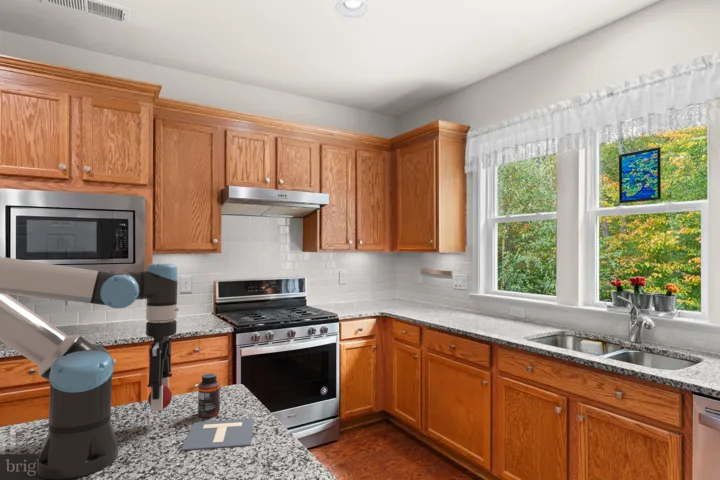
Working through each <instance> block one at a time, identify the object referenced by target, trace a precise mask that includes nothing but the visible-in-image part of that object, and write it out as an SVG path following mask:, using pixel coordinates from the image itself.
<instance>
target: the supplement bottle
mask: <svg viewBox="0 0 720 480" xmlns="http://www.w3.org/2000/svg"><path fill="white" fill-rule="evenodd" d="M197 387H198V388H197V390H198V391H197V393H198V395H197V402H198V403H197V415H198V416H199V417H200V418H212V417H213V418H214V417H216V416H217V415H219V414H220V410H221V409H220V408H221V407H220V405H221V399H220V398H221V396H220V395H221V390H220V389H221V384H220V382H219V381H218V380H217V374H216V373H211V372H210V373H205V374H202V375H201V382H200V383H199V384H198V386H197Z"/></svg>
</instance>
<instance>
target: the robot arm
mask: <svg viewBox="0 0 720 480" xmlns="http://www.w3.org/2000/svg"><path fill="white" fill-rule="evenodd" d="M178 283H179V280H178V266H176V264H174V263H149V264H148V265H147V268H146V270H142V271H111V270H108V271H101V270H94V269H88V268H87V269H86V268H80V267H75V266H66V265H61V264H60V265H59V264H54V263H53V264H52V263H46V262H45V263H44V262H39V261H33V260H32V261H31V260H24V259H19V258H18V259H17V258H11V257H6V256H0V342H1V343H3V344H4V345H6V346H7V347H10V349H12V350H13V351H16V352H17V353H18V354H20V355H21V356H23V357H25V358H26V359H27V360H29V361H31V362H33V363H34V364H35V365H36V366H37V367H38V376H40V377H41V378H43V379H44V380H46V381H47V382H49V406H48V407H49V408H48V410H49V411H48V433H47V436H46V438H45V441H44V443H43V446H42V449H41V451H40V454H39V456H38V458H37V462H36V463H37V464H36V473H37V475H38V476H39V477H40V478H42V479H45V480H70V479H74V478H79V477H83V476H86V475H90V474H93V473H95V472H99V471H101V470H102V469H104V468H106V467H108V466H110V465H111V464H113V463H114V462H115V461H116V460H117V459H118V457H119V448H120V446H119V442H118V439H117V436H116V434H115V433H116V432H115V431H114V428H113V425H112V420H111V419H112V393H113V392H112V391H113V390H112V387H113V384H112V383H113V374H114V368H115V366H114V360H113V358H112V355H111V354H110V352H109V351H108V350H107V349H106V348H105V347H102V346H101V345H98V344H93V343H91V342H90V341H88V340H87V339H86V338H84V337H83V336H81V335H79V334H74V335H68V334H66V333H64V332H63V331H62V330H60V329H59V328H58V327H56V326H54V325H53V324H52V323H50V322H49V321H47V320H46V319H44V318H43V317H41V316H40V315H38V314H37V313H36V312H34V311H33V310H32V309H30V308H29V307H27V306H25V305H24V304H23V303H21V302H19V301H18V300H17V299H16V298H14V297H13V296H20V297H28V298H29V297H30V298H41V299H47V300H48V299H49V300H57V301H66V302H76V303H77V302H78V303H85V304H93V305H99V306H100V305H101V306H108V307H110V308H111V309H125V308H127V307H129V306H131V305H132V304H133V303H134V302H136V300H140V301H141V300H146V309H145V319H146V320H147V322H146V323H145V335H146V336H147V337H150V338H153V341H152V343H151V345H150V346H151V347H150V348H149V350H148V353H149V365H148V366H149V369H148V384H147V388H150V392H151V406H150V412H158V411H160V412H162V411H163V410H162V408H163V385H165V386H167V387H168V388H169V389H170V378H171V377H173V373H171V372H172V341H173V339H172V337H171V336H174V335H176V333H177V327H178V326H177V321H176V320H175V319H177V317H178V316H177V313H178V312H179V310H180V309H179V307H177V306H178V305H177V303H178ZM162 384H163V385H162Z"/></svg>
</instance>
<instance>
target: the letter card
mask: <svg viewBox="0 0 720 480" xmlns="http://www.w3.org/2000/svg"><path fill="white" fill-rule="evenodd" d="M254 423H255V419H254V418H243V419H242V418H240V419H238V418H237V419H224V420H211V421H210V420H207V421H194V422H193V423H192V425H191V428H190V430H189V432H188V434H187V437H186V438H185V440H184V443H183V445H182V447H181V451H193V450H207V449H208V450H209V449H219V448H222V449H223V448H234V447H236V448H237V447H246V446H249V447H251V446H252V439H253V429H254Z"/></svg>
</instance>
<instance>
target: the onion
mask: <svg viewBox="0 0 720 480" xmlns="http://www.w3.org/2000/svg"><path fill="white" fill-rule="evenodd" d="M162 385H163V384H162ZM147 398H148V399H147V401H148V404H149V406H150V407H151V391H150V392H149V394H148V397H147ZM172 399H173V393H172V391H171V390H170V387H169V388H168V387H167V386H165V385H163V408H162V411H163V410H164V409H166V408H167V407H168V406H169V405H170V404H171V402H172ZM157 412H159V413H160V412H161V411H157Z"/></svg>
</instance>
